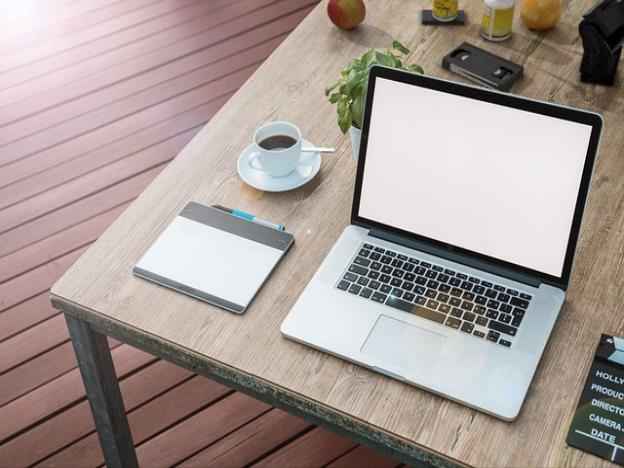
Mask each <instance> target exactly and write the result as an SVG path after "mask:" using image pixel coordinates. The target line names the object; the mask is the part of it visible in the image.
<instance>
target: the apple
mask: <svg viewBox="0 0 624 468" xmlns="http://www.w3.org/2000/svg"><path fill="white" fill-rule="evenodd" d="M326 13H327V16H328V18H329V20H330V21H331V23H332V24H333V25H334V26H336V28H338V29H341V30H344V31H345V30H349V29H352V28H353V29H354V28H355V27H357V26H358V25H360V24H362V23H363V22H364V20H365V19H366V14H367V8H366V4H365V2H364V0H329V1H328V2H327V6H326Z"/></svg>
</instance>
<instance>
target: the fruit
mask: <svg viewBox="0 0 624 468" xmlns="http://www.w3.org/2000/svg"><path fill="white" fill-rule="evenodd" d="M519 15H520V16H519V17H520V20H521V22H522V23H523V24H524V25H525V26H527V27H528V28H529V29H532V30H534V31H544V30H549V29H551V28H552V27H554V26H555V25H556V24H557V23H558V22H559V21H560V18H561V15H562V4H561V1H560V0H523V2H522V4H521V6H520V9H519Z"/></svg>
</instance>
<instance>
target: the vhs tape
mask: <svg viewBox="0 0 624 468" xmlns="http://www.w3.org/2000/svg"><path fill="white" fill-rule="evenodd" d="M441 68H443V69H445V70H447V71H450V72H452V73H454V74H456V75H457V76H461V77H462V78H465V79H467V80H469V81H470V82H471V81H472V82H474V83H476V84H478V85H479V86H482V87H484V88H487V89H489V88H490V89H489V90H491V89H495V90H499V91H503V92H504V91H505V90H507V89H508V88H509V87H511V85H513V84H515V83H516V82H517V81H518V80H520V79H521V78H522V77H523V76H524V72H525V66H524V65H520V64H518V63H516V62H513V61H511V60H509V59H507V58H505V57H502V56H500V55H497V54H494V53H493V52H490V51H488V50H485V49H484V48H481V47H479V46H477V45H474V44H471V43H470V42H467V41H463V42H462V43H461V44H459V45H458V46H456V47H455V48H454V49H453V50H451V51H449V52H448V53H447V54H446V55H444V56H443V57H442V58H441Z"/></svg>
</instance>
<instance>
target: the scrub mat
mask: <svg viewBox="0 0 624 468" xmlns="http://www.w3.org/2000/svg"><path fill="white" fill-rule="evenodd" d="M465 23H466V22H465V10H464V9H458V12H457V16H456V18H455V19H453V20H451V21H439V20H437V19H435V18H434V17H433V15H432V9H422V10H421V24H422V25H462V26H463V25H465Z"/></svg>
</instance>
